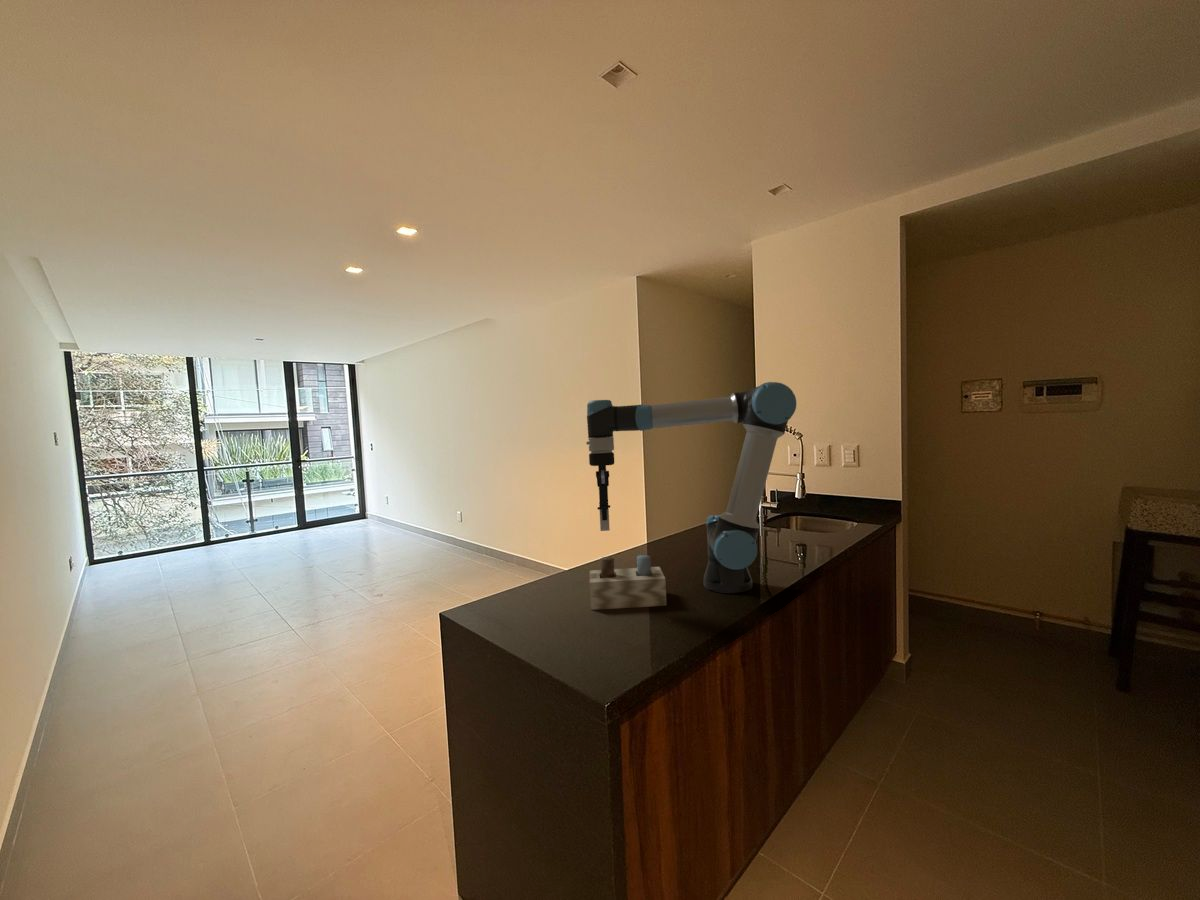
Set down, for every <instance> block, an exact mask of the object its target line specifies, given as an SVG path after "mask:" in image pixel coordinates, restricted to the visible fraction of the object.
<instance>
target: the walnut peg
mask: <svg viewBox="0 0 1200 900" xmlns="http://www.w3.org/2000/svg"><path fill="white" fill-rule="evenodd" d="M614 569H615V559H614V557H613V556H603V557H601V558H600V570H601V578H614V577H615V575H614Z"/></svg>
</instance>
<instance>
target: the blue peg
mask: <svg viewBox="0 0 1200 900" xmlns="http://www.w3.org/2000/svg"><path fill="white" fill-rule="evenodd" d="M651 567H652V566H651V556H650V555H648V554H642V555H640V554H639V555H637V556H636V568H637V572H638V576H650V575H651Z"/></svg>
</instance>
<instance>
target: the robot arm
mask: <svg viewBox="0 0 1200 900" xmlns="http://www.w3.org/2000/svg"><path fill="white" fill-rule="evenodd" d="M612 403H613V402H612V401H611V400H610V399H596V400H589V401H588V403H587V405H586V414H587V415H586V420H587V436H588V437H587V438H588V441H586V445H587V446H588V452H590V453H589V454H588V461H589V462H588V463H589V465H590V466H591V467H597V469H598V471H597V470H596V471H595V477H596V486H597V487H598V494H599V495H598V496H599V497H598V498H599V502H598V505H599V506H597V510H599V525H600V532H606V531H607V532H608V531H610V529H611V528H610V514H609V512H610V509H609V508H611V505H609V491H608V487H609V486H610V481H609V480H610V479H609V478H610V471H609V470H607V466H613V465H615V453H614V450H615V444H614V443H615V442H614V441H615V440H614V432H636V431H637V432H638V431H641V432H644V431H647V430H649V431H650V430H652V429H660V428H661V429H662V428H670V427H671V428H673V427H681V426H692V425H700V424H709V423H710V424H711V423H720V422H721V423H722V422H732V423H735V424H742V423H743V424H742V426H743V428H744V429H745V431H746V433H745V437H744V441H743V444H742V449H741V453H740V457H739V459H738V465H737V468H736V472H735V475H734V479H733V483H732V487H731V491H730V495H729V498H728V503H727V505H726V510H725V511H724V512H722V513H721V514H710V515H708V516H707V517H706V524H705V526H706V539H707V541H706V543H707V565H706V567H705V568H706V569H705V572H704V574H703V586H704V588H705V589H707V590H709V591H712V592H716V593H721V594H739V593H745V592H748V591H750V590H752V588H753V579H752V576H751V573H750V570H749V568H748V567H749V566H751V565H752V564H753V562H754V561H755V560H756V558H757V555H758V544H757V538H758V535H759V531H760V527H761V526H760V525H759V523H758V521H757V516H758V512H759V509H760V505H761V501H762V498H763V495H764V490H765V486H766V483H767V479H768V475H769V471H770V469H771V468H770V467H771V463H772V460H773V458H774V457H773V456H774V452H775V449H776V446H777V441H778V439H779V438H781V437H782V436H784V435H785V434H786V429H787V426H788V422H789V420H791V418H792V417H793V415H794V414H795V412H796V410H797V398H796V395H795V393H794V391H793V390H792V389H791V388H790V387H789V386H788V385H786V384H785V383H782V382H778V381H777V382H775V381H768V382H764V383H762V384H760V385H759V386H756V387H753V388H751V389H748V390H743V391H738V392H732V393H731V394H730V396H723V397H714V398H706V399H699V400H687V401H681V402H680V401H679V402H678V401H677V402H671V403H668V402H667V403H662V404H661V403H660V404H632V405H619V406H615V405H613V404H612Z"/></svg>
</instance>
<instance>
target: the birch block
mask: <svg viewBox="0 0 1200 900" xmlns="http://www.w3.org/2000/svg"><path fill="white" fill-rule="evenodd" d="M614 575H615V577H614V578H601V569H593V570H589V595H590V596H589V598H590V600H589V601H590V610H592V611H595V610H597V611H598V610H610V609H613V610H614V609H626V608H628V609H630V608H631V609H632V608H645V607H646V608H647V607H660V606H661V607H662V606H663V607H664V606H667V604H668V603H667V589H666V588H667V586H666V584H667V583H666V577H665V575H664V573H663V571H662V568H661V567H660V566H651V575H650V576H638V572H637V567H627V568H614Z"/></svg>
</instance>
